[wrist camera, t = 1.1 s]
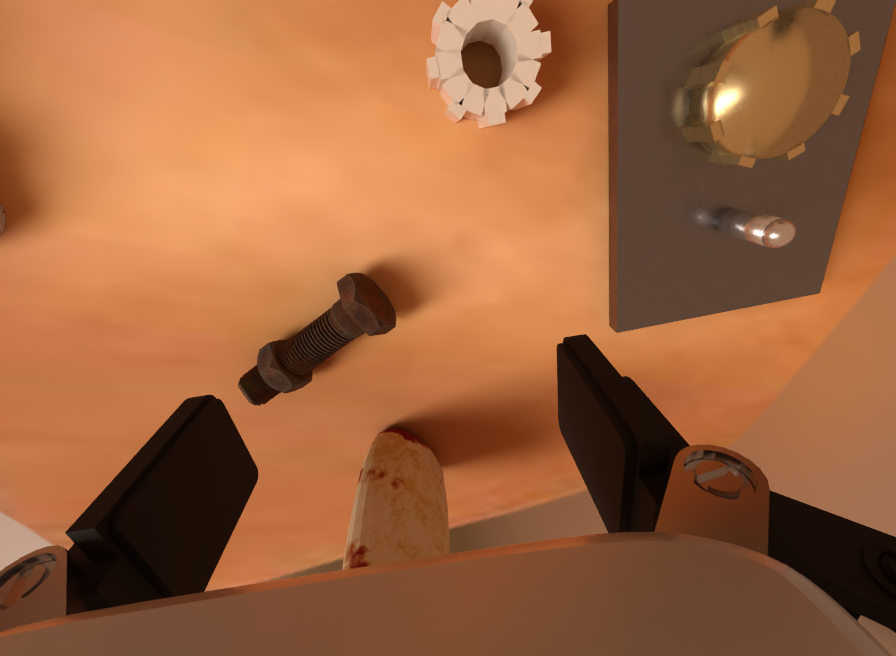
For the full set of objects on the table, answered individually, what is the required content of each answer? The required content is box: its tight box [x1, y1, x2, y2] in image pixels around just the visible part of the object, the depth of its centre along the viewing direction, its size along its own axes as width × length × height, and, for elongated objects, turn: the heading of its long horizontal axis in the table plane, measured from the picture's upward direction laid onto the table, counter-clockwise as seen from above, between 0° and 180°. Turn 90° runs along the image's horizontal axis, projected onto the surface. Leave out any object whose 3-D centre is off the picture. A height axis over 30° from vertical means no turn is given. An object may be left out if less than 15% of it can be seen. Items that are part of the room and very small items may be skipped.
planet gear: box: [427, 0, 551, 129], centre depth 24 cm, size 7×7×5 cm
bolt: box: [238, 273, 396, 405], centre depth 33 cm, size 6×5×15 cm
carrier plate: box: [608, 0, 896, 333], centre depth 27 cm, size 24×18×7 cm
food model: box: [342, 428, 450, 570], centre depth 32 cm, size 10×7×20 cm
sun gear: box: [682, 0, 861, 168], centre depth 25 cm, size 9×9×3 cm
